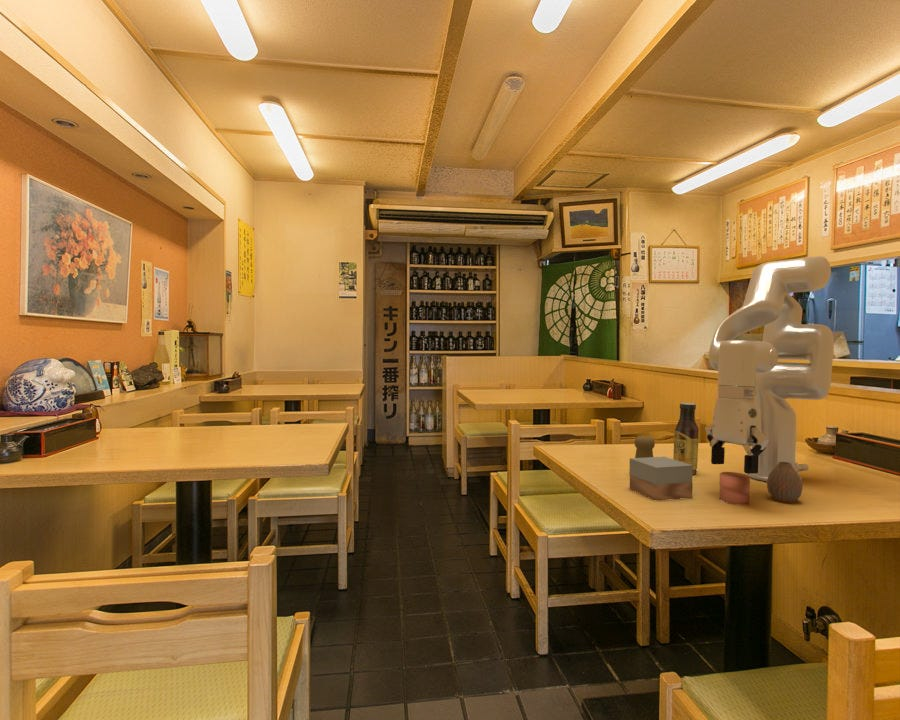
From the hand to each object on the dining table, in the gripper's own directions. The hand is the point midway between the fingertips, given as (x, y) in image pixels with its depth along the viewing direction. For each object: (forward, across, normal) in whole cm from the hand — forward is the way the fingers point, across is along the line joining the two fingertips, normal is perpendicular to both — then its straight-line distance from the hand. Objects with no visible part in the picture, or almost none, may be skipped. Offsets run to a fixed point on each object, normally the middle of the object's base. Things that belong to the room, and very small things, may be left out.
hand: (733, 468), depth 115 cm
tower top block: (+4, +10, +12) cm, 16 cm away
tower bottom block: (+8, +9, +12) cm, 17 cm away
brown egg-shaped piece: (+7, -2, -13) cm, 15 cm away
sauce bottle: (+7, +26, -8) cm, 28 cm away
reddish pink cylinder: (+8, 0, -1) cm, 8 cm away
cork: (+8, +24, +6) cm, 26 cm away
